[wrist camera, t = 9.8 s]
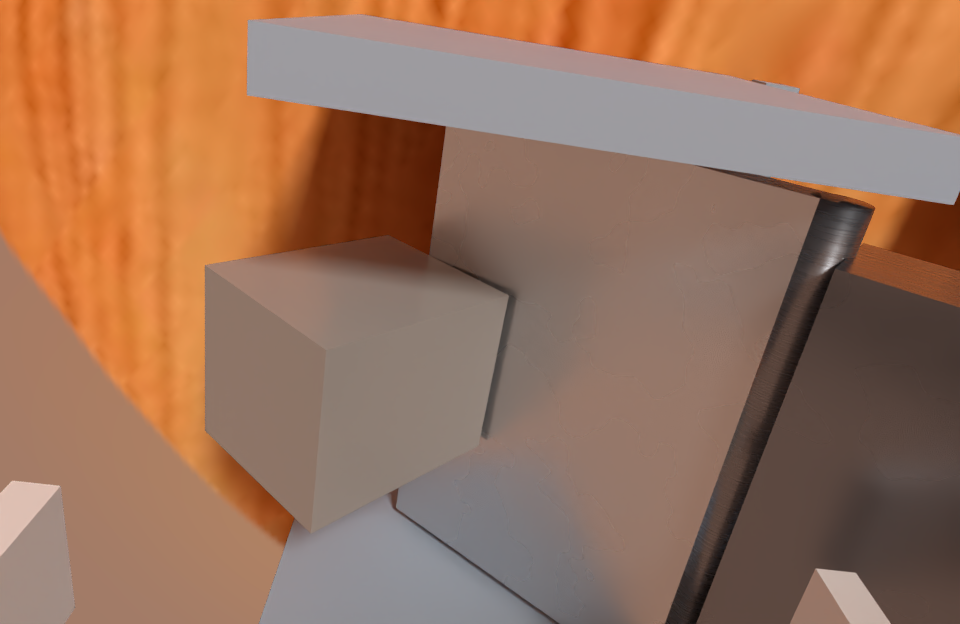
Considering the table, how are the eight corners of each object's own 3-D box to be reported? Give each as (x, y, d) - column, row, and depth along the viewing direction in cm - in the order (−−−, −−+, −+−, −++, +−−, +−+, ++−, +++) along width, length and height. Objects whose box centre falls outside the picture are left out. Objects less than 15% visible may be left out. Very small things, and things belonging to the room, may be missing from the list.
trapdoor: (493, 100, 20) (424, 100, 18) (1188, 276, 12) (1227, 318, 10) (433, 483, 25) (375, 521, 23) (879, 776, 18) (858, 876, 15)
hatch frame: (361, 14, 23) (248, 19, 11) (784, 84, 24) (1090, 158, 12) (329, 434, 30) (238, 714, 18) (659, 473, 31) (778, 760, 19)
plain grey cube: (388, 234, 21) (204, 265, 17) (508, 295, 18) (326, 350, 14) (372, 372, 23) (205, 430, 19) (478, 445, 20) (311, 533, 16)
